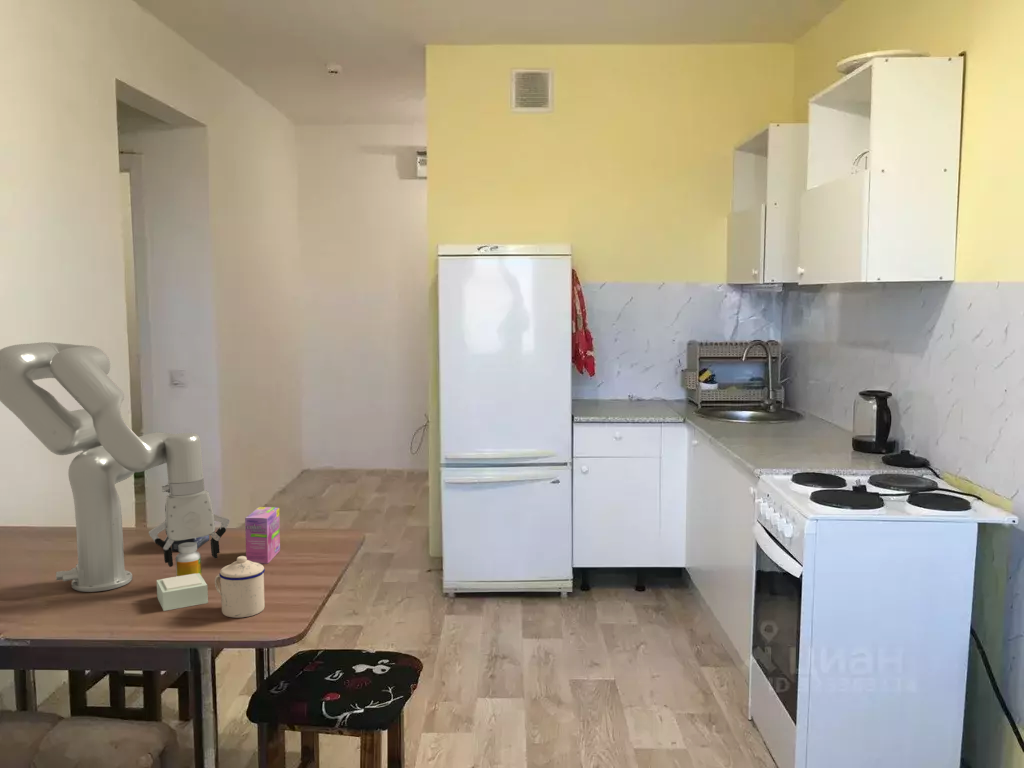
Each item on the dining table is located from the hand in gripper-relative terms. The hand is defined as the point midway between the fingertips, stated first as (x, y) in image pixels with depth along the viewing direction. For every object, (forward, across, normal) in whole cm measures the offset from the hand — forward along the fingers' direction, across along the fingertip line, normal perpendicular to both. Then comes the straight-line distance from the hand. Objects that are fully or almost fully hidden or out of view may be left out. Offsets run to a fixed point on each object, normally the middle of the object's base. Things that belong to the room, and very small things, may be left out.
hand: (192, 560), depth 190 cm
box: (+6, +19, +13) cm, 24 cm away
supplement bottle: (+6, -1, +1) cm, 6 cm away
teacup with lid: (+7, +5, -20) cm, 22 cm away
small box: (+6, +5, +33) cm, 34 cm away
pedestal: (+6, -4, -8) cm, 11 cm away
